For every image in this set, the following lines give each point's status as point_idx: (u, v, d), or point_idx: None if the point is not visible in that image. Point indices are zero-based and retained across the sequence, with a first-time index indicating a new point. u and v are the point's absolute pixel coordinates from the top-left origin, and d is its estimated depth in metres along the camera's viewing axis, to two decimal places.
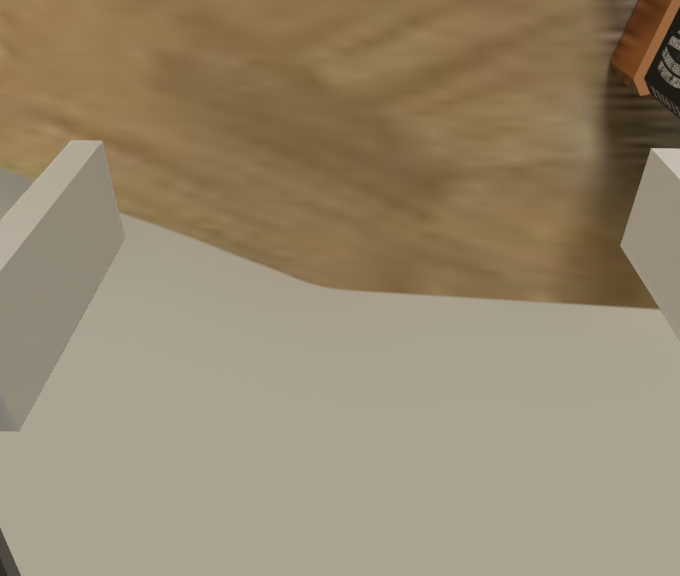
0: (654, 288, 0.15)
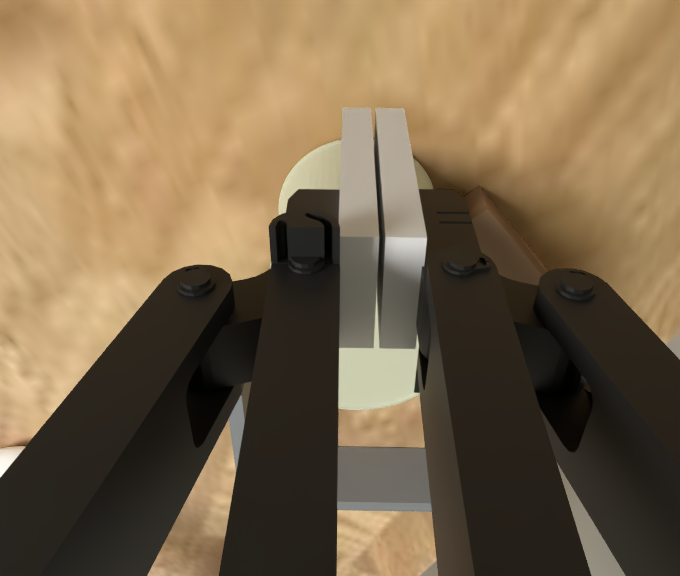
0: None
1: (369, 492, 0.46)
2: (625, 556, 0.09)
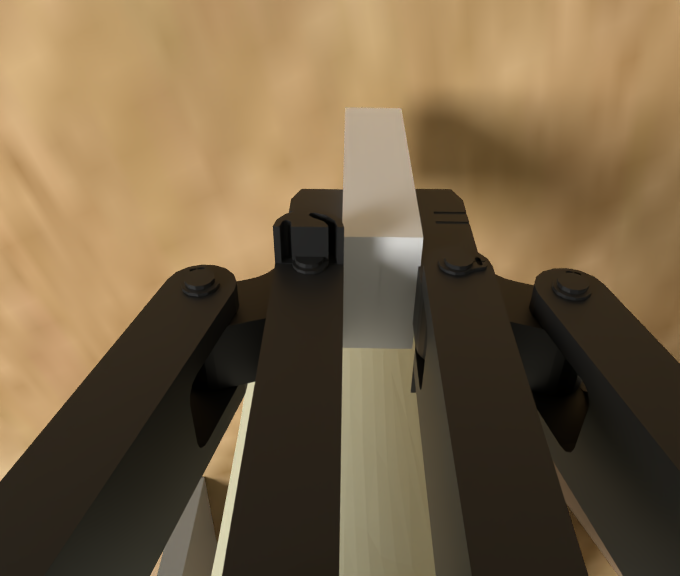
0: None
1: None
2: (622, 556, 0.09)
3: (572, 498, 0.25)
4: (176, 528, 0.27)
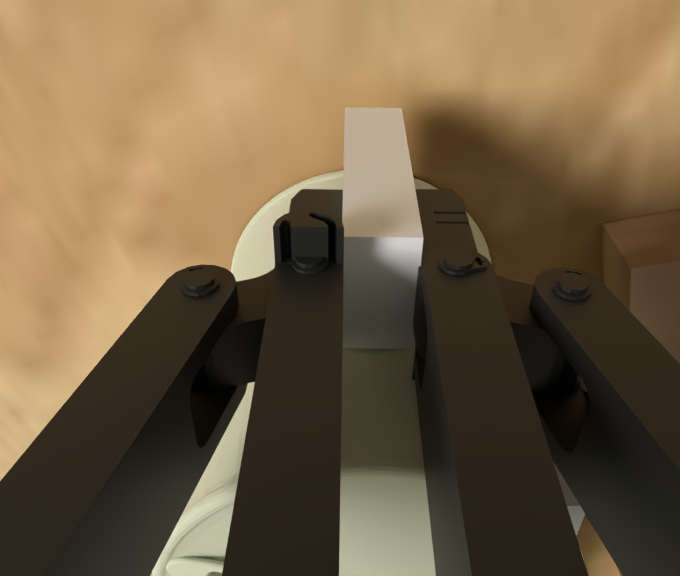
0: None
1: None
2: (622, 556, 0.09)
3: None
4: None
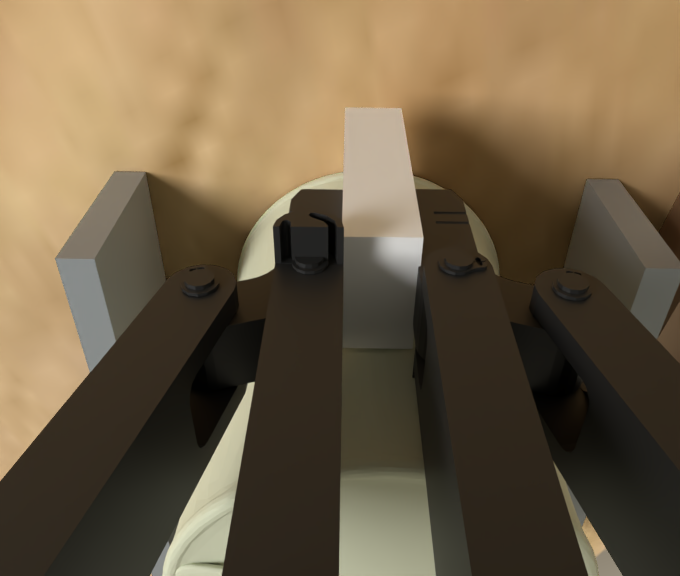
0: None
1: None
2: (622, 556, 0.09)
3: None
4: (96, 212, 0.18)
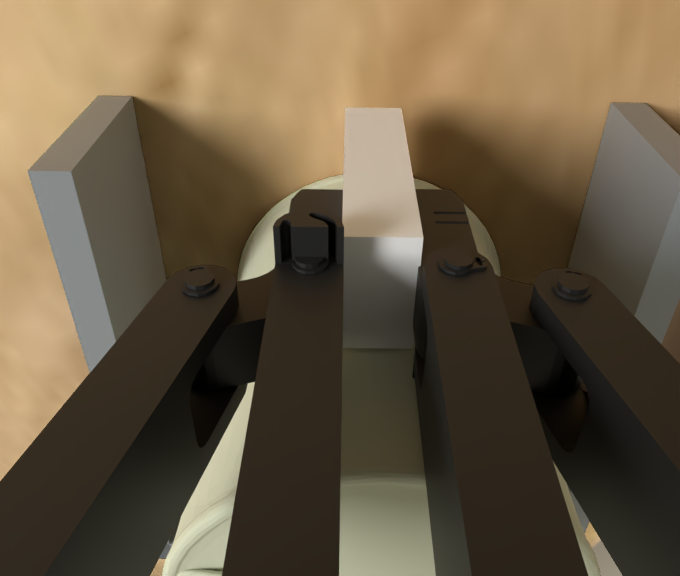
0: None
1: None
2: (622, 556, 0.09)
3: None
4: (76, 131, 0.16)
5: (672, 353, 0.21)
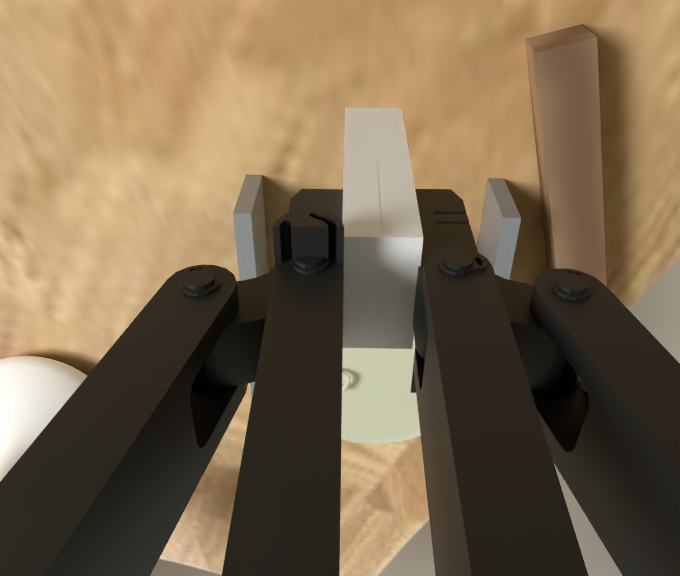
0: None
1: None
2: (621, 556, 0.09)
3: (550, 143, 0.35)
4: (244, 194, 0.37)
5: None
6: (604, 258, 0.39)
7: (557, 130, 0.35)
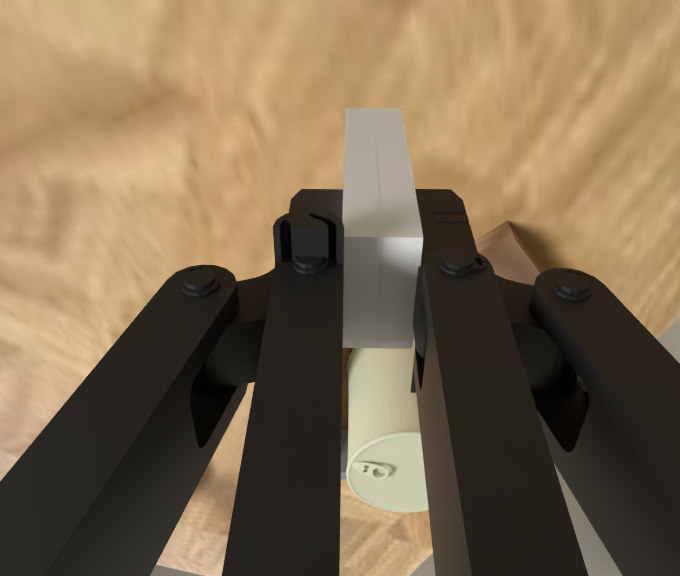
0: None
1: None
2: (621, 555, 0.09)
3: None
4: None
5: None
6: None
7: None
